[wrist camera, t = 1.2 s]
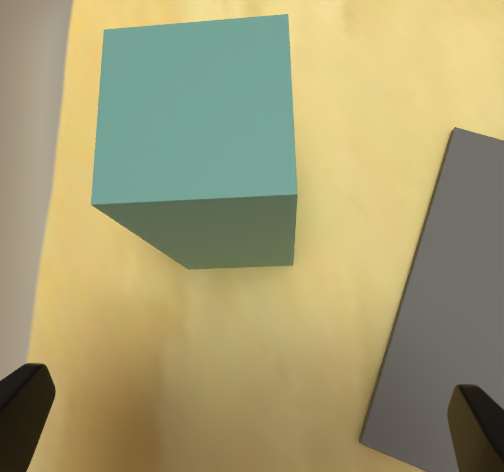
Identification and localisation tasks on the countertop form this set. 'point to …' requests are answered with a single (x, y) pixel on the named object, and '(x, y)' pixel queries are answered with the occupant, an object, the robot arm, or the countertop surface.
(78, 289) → the countertop surface
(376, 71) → the countertop surface
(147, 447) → the countertop surface
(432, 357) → the charcoal mat
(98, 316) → the countertop surface
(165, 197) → the teal block
